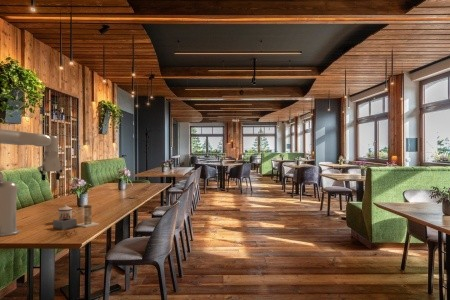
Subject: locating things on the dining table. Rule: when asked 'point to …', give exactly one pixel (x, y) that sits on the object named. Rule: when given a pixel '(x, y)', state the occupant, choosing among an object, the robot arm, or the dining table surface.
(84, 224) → the tile
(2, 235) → the robot arm
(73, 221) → the eye block
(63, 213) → the teacup with lid
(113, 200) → the dining table surface
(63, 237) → the dining table surface
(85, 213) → the peg
